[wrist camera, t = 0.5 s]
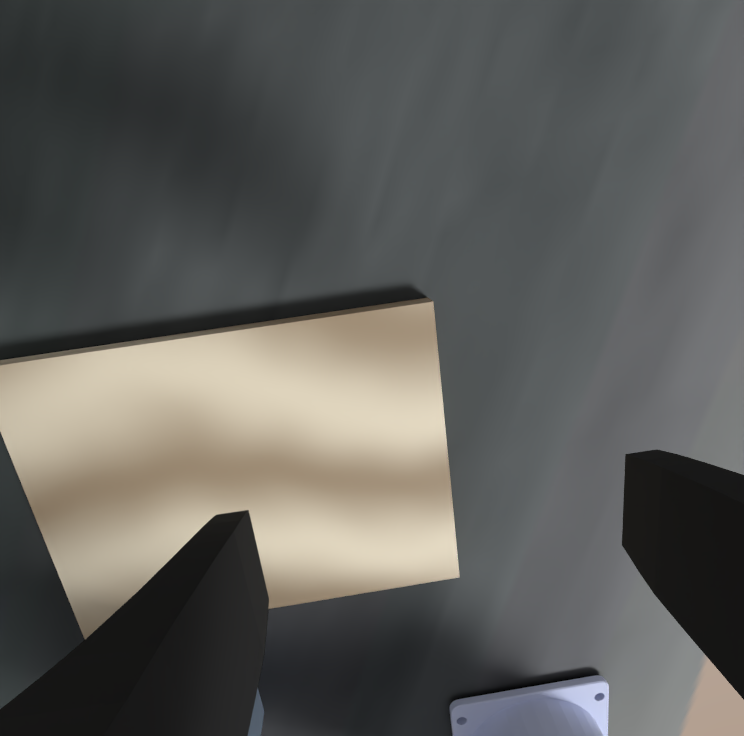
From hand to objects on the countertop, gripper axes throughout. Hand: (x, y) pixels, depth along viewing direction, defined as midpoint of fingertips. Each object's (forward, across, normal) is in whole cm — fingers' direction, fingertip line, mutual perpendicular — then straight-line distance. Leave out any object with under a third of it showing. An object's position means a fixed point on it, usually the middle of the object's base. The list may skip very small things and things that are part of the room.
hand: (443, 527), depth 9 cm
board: (+10, +6, +3) cm, 12 cm away
